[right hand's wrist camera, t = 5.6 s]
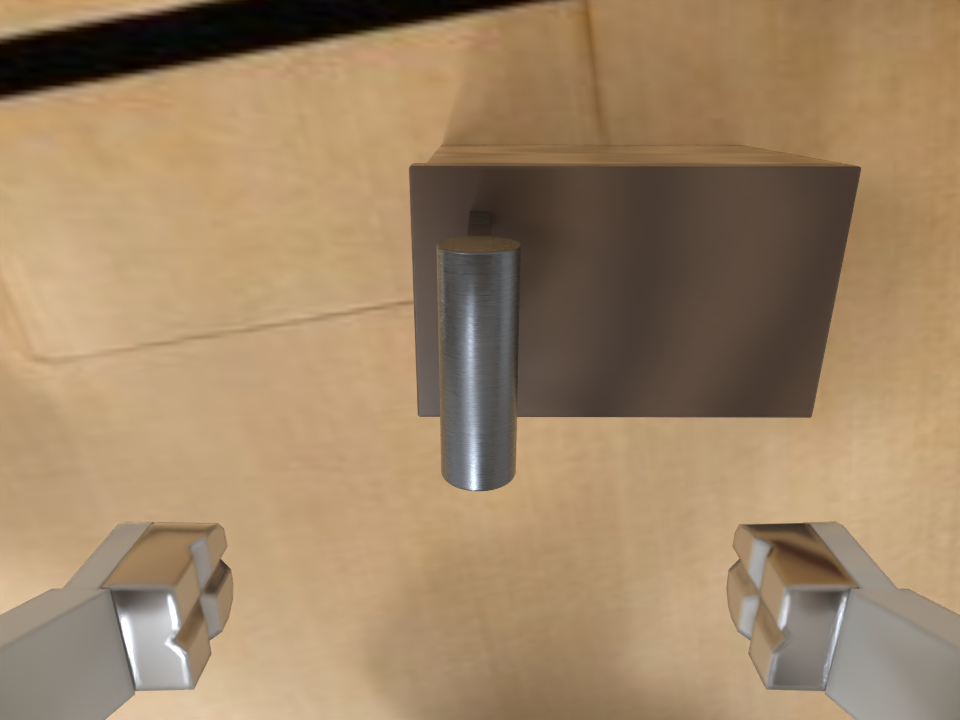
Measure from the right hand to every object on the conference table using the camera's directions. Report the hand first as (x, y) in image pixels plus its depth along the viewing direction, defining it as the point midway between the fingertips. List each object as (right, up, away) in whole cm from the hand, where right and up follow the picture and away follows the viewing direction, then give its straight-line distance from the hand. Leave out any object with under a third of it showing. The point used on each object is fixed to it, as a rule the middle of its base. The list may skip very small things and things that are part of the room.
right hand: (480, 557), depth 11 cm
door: (+5, +6, +15) cm, 16 cm away
